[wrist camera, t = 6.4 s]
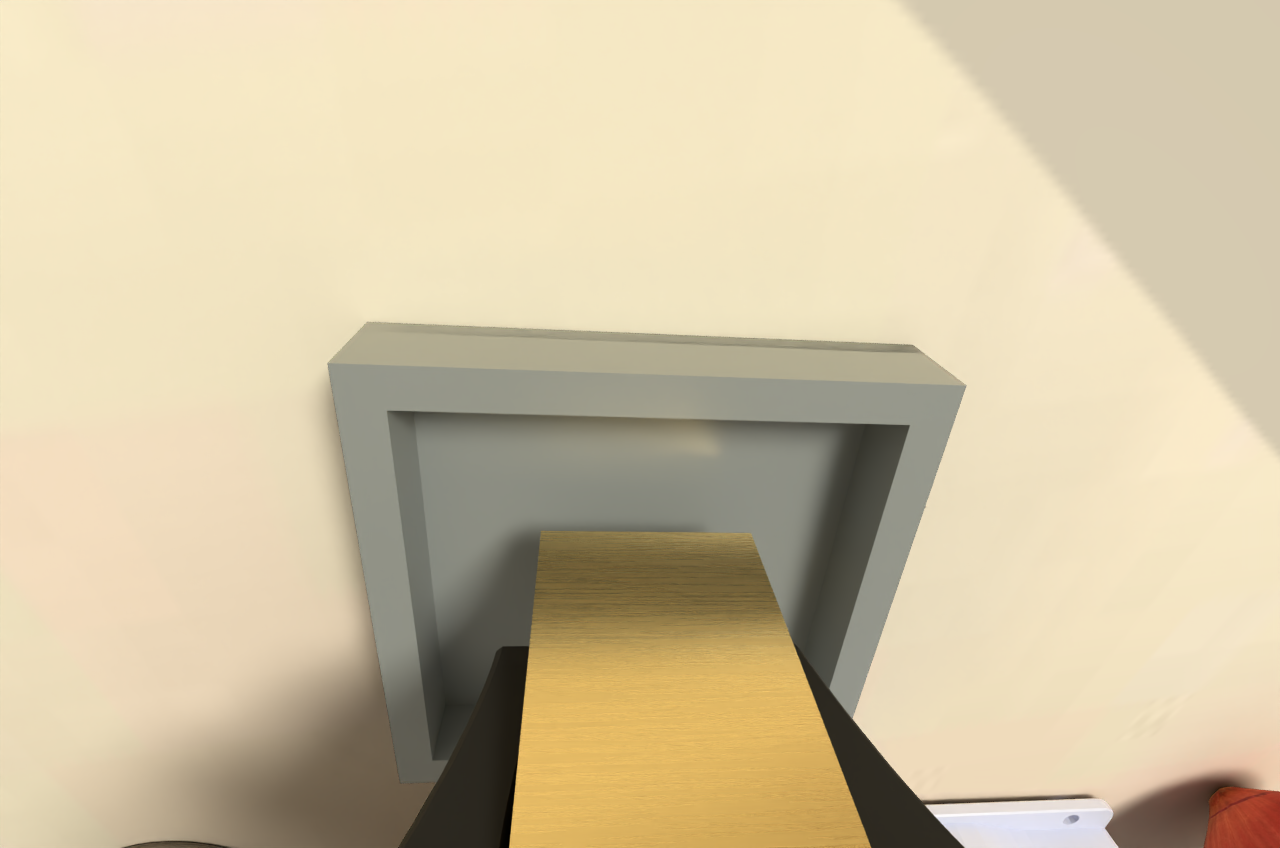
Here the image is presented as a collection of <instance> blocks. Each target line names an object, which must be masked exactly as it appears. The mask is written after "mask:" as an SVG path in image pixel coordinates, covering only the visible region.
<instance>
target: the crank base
mask: <svg viewBox="0 0 1280 848" xmlns="http://www.w3.org/2000/svg"><path fill="white" fill-rule="evenodd" d="M126 848H224V847H219V846H214V845H208V844H201V843H190V842H158V843H147V844H141V845H135V846H130V847H126Z"/></svg>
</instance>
